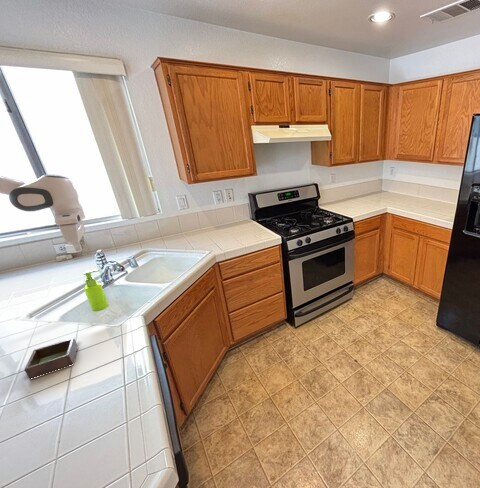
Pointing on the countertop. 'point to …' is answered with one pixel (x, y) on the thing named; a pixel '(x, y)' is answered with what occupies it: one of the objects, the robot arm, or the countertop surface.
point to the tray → (51, 358)
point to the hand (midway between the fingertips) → (81, 247)
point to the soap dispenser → (95, 292)
